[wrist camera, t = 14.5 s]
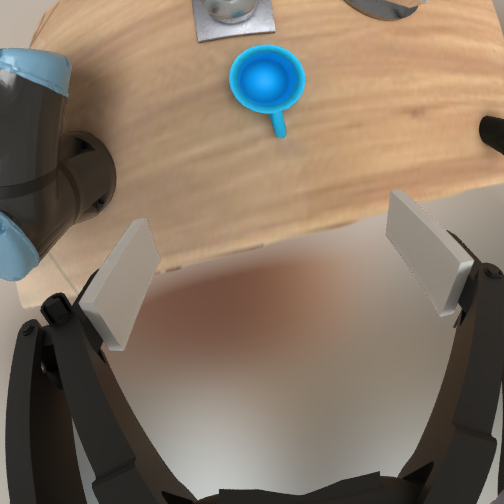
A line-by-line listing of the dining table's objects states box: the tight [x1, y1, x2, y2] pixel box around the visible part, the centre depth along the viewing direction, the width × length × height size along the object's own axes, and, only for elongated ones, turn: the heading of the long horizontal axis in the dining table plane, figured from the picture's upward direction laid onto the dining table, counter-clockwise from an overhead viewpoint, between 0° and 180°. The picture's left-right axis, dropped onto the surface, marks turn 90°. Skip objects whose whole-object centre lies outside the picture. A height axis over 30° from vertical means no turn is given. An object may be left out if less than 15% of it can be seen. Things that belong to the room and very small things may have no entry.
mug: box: [229, 44, 305, 138], centre depth 30 cm, size 12×8×8 cm
